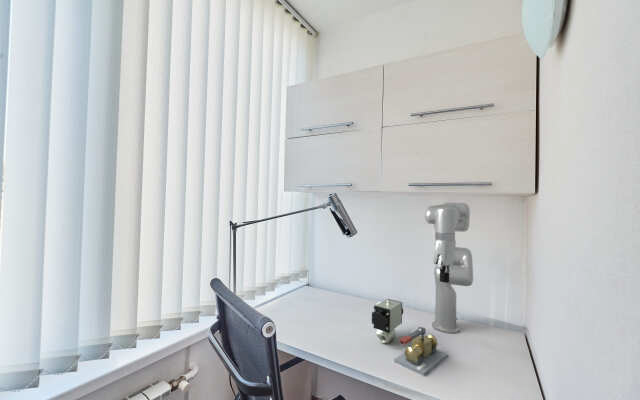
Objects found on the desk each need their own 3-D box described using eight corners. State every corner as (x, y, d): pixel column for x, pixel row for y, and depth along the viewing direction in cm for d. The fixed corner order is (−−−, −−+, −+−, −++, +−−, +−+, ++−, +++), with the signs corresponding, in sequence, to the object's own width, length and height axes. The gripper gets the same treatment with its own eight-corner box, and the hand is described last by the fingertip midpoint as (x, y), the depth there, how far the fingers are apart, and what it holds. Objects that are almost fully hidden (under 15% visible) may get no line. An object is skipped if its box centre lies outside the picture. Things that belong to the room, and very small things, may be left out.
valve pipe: (425, 346, 116) (425, 325, 116) (437, 351, 112) (437, 329, 112) (404, 361, 104) (404, 336, 105) (417, 367, 100) (417, 342, 101)
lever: (420, 330, 110) (420, 326, 110) (426, 332, 108) (426, 328, 108) (398, 342, 99) (398, 338, 99) (405, 345, 97) (405, 341, 97)
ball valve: (386, 330, 133) (387, 293, 133) (403, 336, 127) (404, 297, 128) (368, 344, 119) (368, 302, 120) (386, 350, 114) (387, 307, 114)
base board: (419, 345, 119) (419, 342, 119) (447, 356, 110) (447, 353, 110) (394, 361, 106) (394, 358, 106) (424, 375, 97) (424, 372, 97)
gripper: (443, 235, 122) (443, 277, 121) (427, 237, 112) (427, 282, 111) (461, 237, 117) (460, 281, 116) (446, 239, 106) (446, 287, 106)
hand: (444, 281), depth 114 cm, fingers closed
